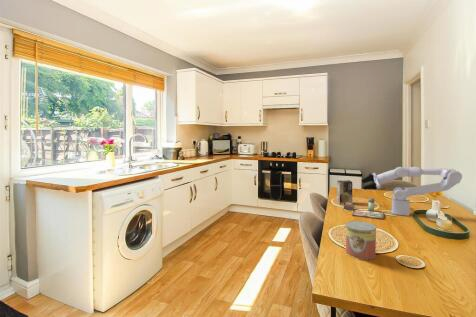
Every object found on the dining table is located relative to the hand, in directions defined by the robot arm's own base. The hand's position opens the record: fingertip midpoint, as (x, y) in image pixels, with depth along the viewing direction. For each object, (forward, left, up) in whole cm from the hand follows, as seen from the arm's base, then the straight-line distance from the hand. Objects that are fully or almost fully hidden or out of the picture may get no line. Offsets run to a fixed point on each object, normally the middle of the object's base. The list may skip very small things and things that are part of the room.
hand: (362, 184), depth 171 cm
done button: (+8, +2, -15) cm, 17 cm away
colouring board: (-4, +11, -16) cm, 20 cm away
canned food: (-5, +70, -17) cm, 72 cm away
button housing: (+8, +2, -16) cm, 18 cm away
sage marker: (-5, +1, -16) cm, 17 cm away
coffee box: (+13, -13, -17) cm, 25 cm away
